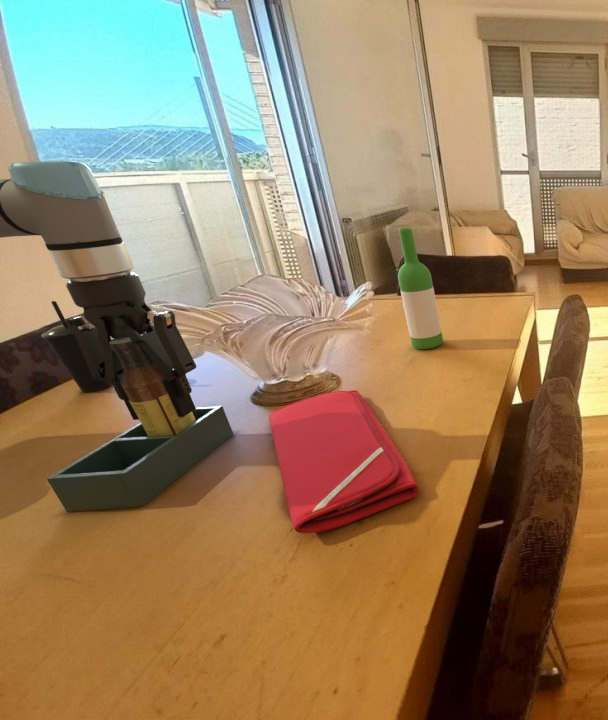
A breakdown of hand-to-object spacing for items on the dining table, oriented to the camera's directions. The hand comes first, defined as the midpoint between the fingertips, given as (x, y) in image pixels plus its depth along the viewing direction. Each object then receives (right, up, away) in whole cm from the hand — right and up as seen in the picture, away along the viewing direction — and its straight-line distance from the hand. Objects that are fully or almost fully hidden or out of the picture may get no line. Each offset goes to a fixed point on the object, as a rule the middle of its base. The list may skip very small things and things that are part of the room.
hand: (165, 414), depth 78 cm
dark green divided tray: (+1, -9, -1) cm, 9 cm away
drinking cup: (-42, +3, +28) cm, 51 cm away
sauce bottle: (0, -6, +3) cm, 7 cm away
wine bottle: (+24, +13, +47) cm, 55 cm away
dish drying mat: (+28, -7, +1) cm, 29 cm away
